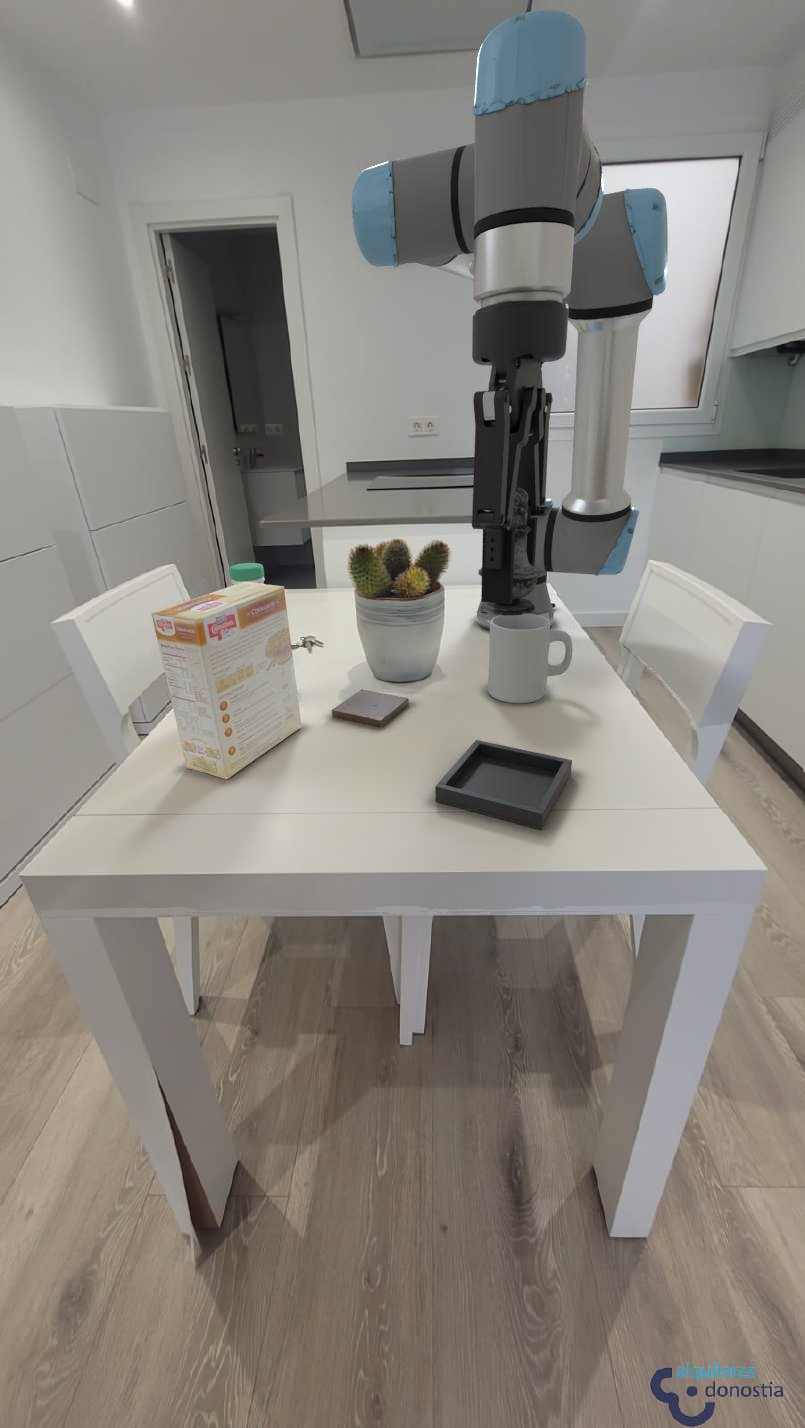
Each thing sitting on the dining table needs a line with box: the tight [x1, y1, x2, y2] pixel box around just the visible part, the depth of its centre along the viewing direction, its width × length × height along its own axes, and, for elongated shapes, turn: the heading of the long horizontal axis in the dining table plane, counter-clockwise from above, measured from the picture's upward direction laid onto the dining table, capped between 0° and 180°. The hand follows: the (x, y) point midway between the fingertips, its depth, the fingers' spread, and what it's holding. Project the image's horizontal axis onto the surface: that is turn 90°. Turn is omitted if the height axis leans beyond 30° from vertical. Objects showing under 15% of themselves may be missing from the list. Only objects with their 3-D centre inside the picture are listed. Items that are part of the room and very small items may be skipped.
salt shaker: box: [477, 485, 541, 616], centre depth 55 cm, size 6×6×12 cm
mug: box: [487, 614, 573, 704], centre depth 87 cm, size 12×8×11 cm
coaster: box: [331, 688, 410, 728], centre depth 85 cm, size 8×8×1 cm
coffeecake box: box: [150, 582, 303, 780], centre depth 72 cm, size 15×7×20 cm, turn 152°
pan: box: [434, 739, 573, 831], centre depth 65 cm, size 12×12×2 cm
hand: (508, 592), depth 57 cm, fingers closed on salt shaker, 6 cm apart
